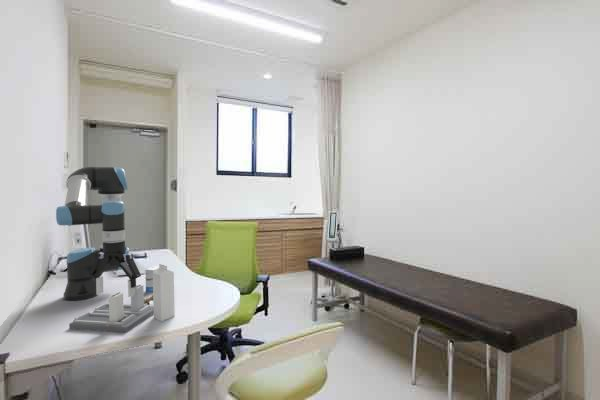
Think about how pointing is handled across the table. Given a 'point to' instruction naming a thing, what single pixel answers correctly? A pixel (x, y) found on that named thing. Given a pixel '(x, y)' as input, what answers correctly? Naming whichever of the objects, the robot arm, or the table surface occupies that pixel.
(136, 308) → the fader
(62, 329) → the table surface
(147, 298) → the figurine
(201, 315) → the table surface
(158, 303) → the milk
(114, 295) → the block
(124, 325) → the grey flat tray
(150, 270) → the ink box
